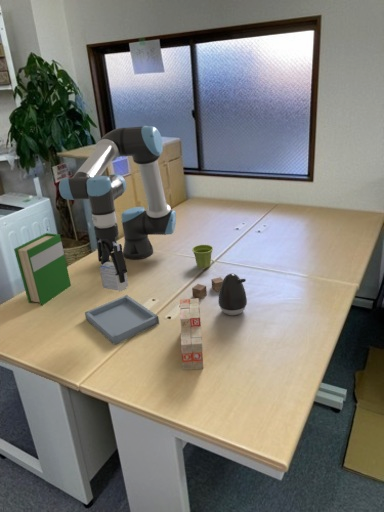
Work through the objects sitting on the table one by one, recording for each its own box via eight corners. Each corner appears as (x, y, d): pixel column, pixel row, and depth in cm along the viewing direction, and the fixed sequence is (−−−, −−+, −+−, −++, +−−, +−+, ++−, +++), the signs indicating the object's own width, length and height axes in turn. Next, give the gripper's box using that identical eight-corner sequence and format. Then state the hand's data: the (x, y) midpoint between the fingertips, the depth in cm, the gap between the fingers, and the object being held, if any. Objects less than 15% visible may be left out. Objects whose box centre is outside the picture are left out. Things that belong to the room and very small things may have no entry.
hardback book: (42, 305, 162) (28, 250, 152) (28, 302, 165) (13, 248, 155) (71, 285, 176) (59, 234, 167) (57, 283, 179) (46, 233, 169)
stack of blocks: (203, 369, 119) (201, 334, 114) (182, 370, 119) (179, 336, 114) (201, 328, 139) (198, 297, 134) (183, 329, 139) (180, 298, 134)
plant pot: (212, 270, 179) (211, 252, 176) (191, 270, 181) (190, 252, 178) (215, 261, 188) (214, 244, 184) (195, 261, 190) (194, 244, 186)
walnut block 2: (211, 287, 165) (211, 279, 163) (220, 285, 166) (220, 277, 164) (215, 292, 162) (215, 283, 160) (224, 289, 163) (224, 281, 161)
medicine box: (128, 286, 141) (125, 263, 137) (121, 291, 137) (118, 269, 134) (110, 283, 144) (106, 261, 141) (103, 288, 140) (98, 266, 137)
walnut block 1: (192, 296, 159) (192, 287, 158) (198, 292, 162) (197, 283, 161) (201, 299, 157) (200, 290, 155) (206, 294, 160) (206, 286, 158)
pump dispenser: (240, 321, 140) (238, 283, 134) (214, 315, 146) (211, 277, 140) (252, 308, 148) (251, 271, 142) (227, 302, 153) (225, 266, 147)
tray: (86, 319, 149) (84, 312, 148) (127, 301, 159) (126, 294, 158) (114, 344, 133) (113, 337, 132) (159, 323, 143) (158, 316, 142)
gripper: (80, 220, 137) (92, 279, 146) (111, 235, 121) (121, 300, 130) (100, 215, 141) (110, 272, 150) (132, 228, 126) (141, 292, 135)
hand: (115, 285), depth 140 cm, fingers closed on medicine box, 9 cm apart
